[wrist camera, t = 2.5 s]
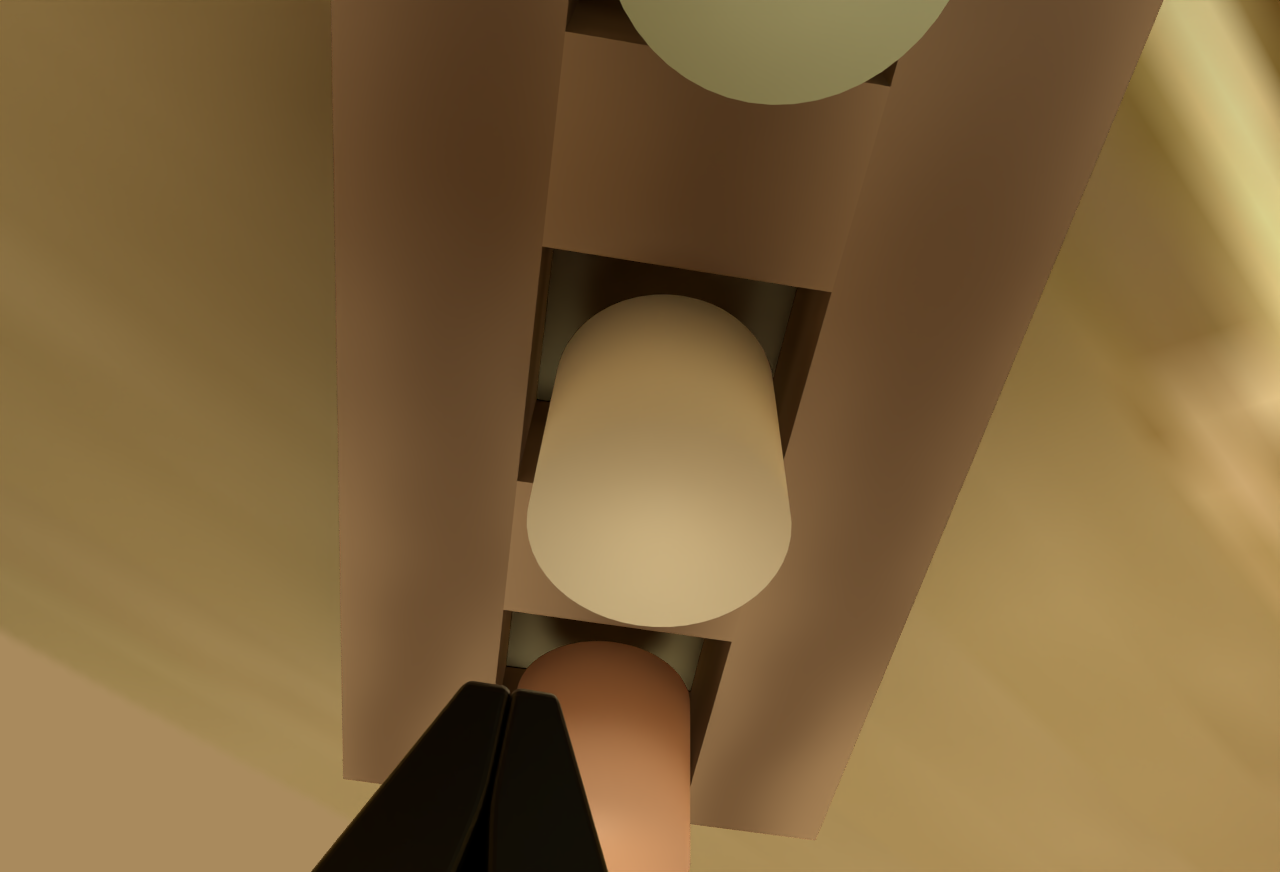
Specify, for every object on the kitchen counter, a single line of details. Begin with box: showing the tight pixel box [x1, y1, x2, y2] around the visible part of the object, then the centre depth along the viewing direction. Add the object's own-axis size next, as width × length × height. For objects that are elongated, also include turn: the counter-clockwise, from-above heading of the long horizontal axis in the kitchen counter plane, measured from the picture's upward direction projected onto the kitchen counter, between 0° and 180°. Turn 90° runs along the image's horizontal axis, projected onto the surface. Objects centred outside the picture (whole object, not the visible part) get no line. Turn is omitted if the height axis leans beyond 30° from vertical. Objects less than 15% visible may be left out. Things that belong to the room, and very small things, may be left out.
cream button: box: [527, 294, 792, 627], centre depth 17 cm, size 4×4×4 cm
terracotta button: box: [517, 641, 690, 872], centre depth 22 cm, size 4×4×4 cm
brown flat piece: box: [331, 0, 1163, 840], centre depth 20 cm, size 12×25×3 cm, turn 171°
